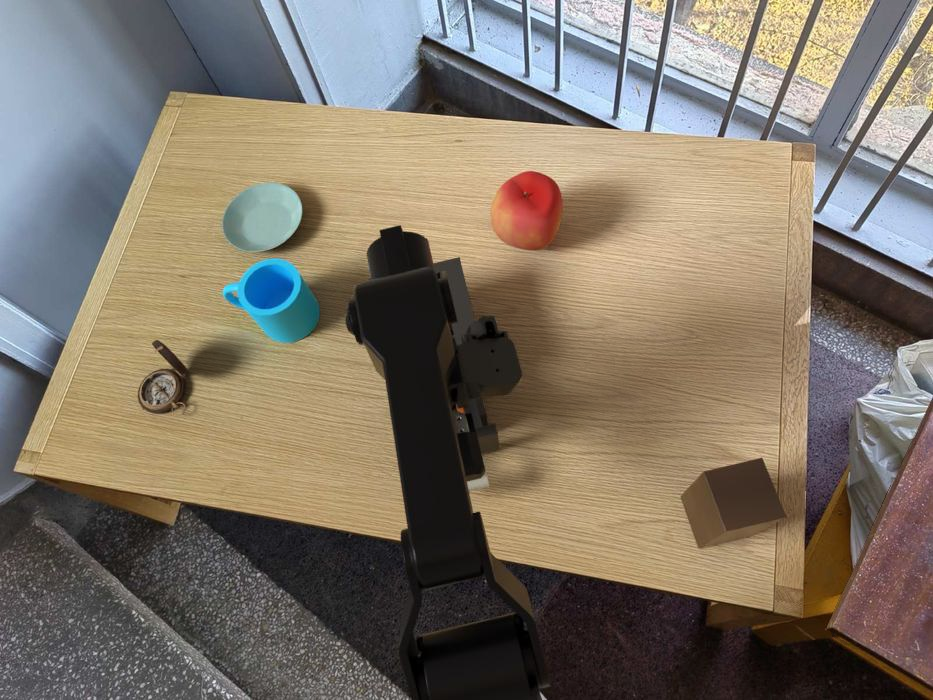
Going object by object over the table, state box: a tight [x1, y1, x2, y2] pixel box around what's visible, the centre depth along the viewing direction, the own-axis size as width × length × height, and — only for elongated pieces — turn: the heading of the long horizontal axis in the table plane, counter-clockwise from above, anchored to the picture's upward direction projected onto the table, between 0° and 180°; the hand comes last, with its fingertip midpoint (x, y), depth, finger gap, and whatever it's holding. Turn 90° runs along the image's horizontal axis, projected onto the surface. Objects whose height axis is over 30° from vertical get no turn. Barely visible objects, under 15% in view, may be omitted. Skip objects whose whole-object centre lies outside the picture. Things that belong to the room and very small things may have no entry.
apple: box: [489, 170, 564, 251], centre depth 90 cm, size 10×10×10 cm
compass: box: [137, 339, 191, 417], centre depth 86 cm, size 8×8×7 cm
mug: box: [222, 258, 321, 344], centre depth 89 cm, size 12×8×8 cm
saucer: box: [221, 182, 303, 253], centre depth 98 cm, size 12×12×2 cm
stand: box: [680, 457, 787, 549], centre depth 72 cm, size 6×6×12 cm
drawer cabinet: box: [367, 256, 476, 345], centre depth 85 cm, size 14×12×9 cm
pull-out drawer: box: [464, 397, 501, 493], centre depth 80 cm, size 17×10×7 cm, turn 12°
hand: (445, 416), depth 74 cm, fingers closed on block, 4 cm apart
